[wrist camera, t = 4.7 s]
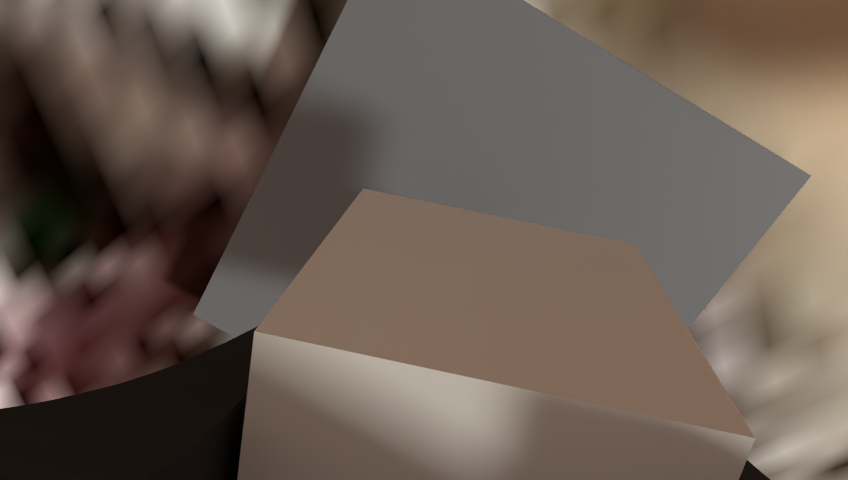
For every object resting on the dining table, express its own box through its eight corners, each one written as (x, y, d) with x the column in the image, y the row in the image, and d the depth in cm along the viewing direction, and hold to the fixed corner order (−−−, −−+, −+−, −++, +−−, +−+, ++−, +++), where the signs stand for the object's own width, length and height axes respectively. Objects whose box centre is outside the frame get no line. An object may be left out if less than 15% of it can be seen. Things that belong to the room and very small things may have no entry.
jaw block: (635, 244, 12) (755, 438, 7) (565, 472, 14) (615, 785, 8) (363, 188, 12) (253, 331, 7) (325, 420, 14) (212, 692, 8)
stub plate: (787, 162, 18) (887, 217, 14) (541, 473, 22) (553, 599, 18) (396, -76, 17) (359, -105, 13) (213, 294, 21) (133, 376, 17)
